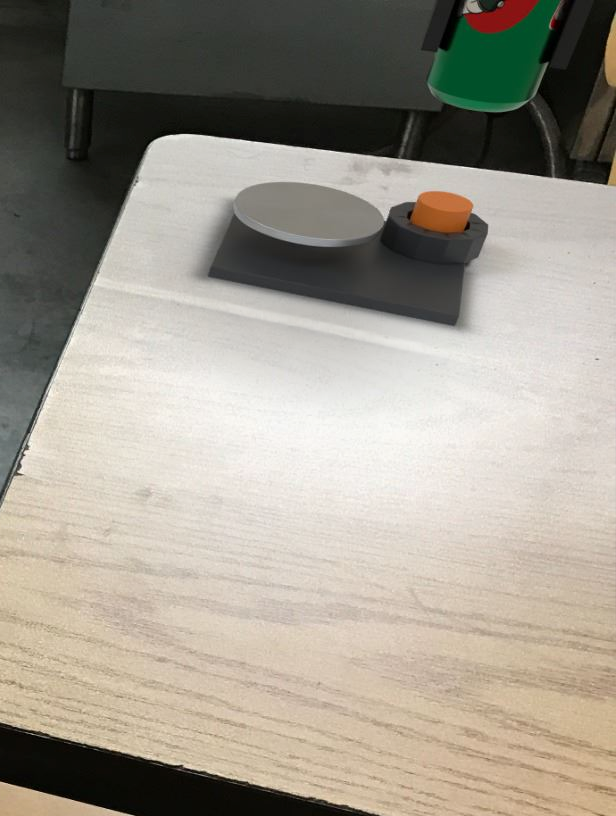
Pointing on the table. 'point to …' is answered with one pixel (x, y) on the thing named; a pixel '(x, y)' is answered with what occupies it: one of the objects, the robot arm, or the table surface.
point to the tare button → (441, 211)
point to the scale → (361, 266)
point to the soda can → (495, 52)
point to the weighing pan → (308, 214)
